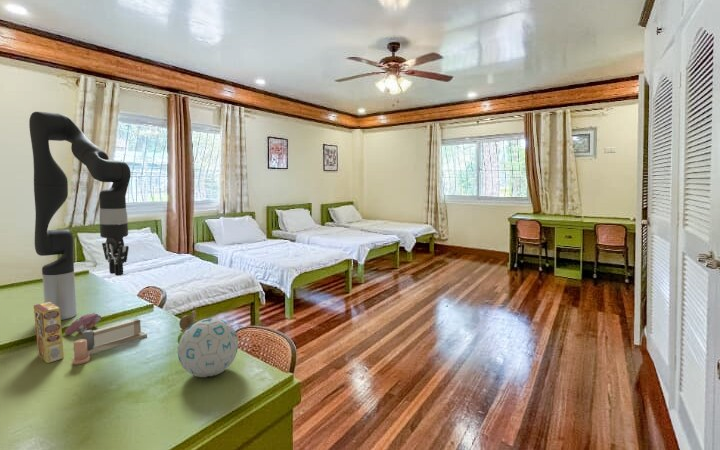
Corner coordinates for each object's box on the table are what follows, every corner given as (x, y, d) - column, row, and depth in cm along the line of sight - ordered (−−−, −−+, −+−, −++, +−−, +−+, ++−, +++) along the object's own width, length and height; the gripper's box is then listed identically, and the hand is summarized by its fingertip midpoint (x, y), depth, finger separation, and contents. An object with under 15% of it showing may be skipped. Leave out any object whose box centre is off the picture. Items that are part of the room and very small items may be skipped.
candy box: (64, 358, 107) (61, 307, 105) (46, 364, 103) (42, 311, 102) (54, 350, 112) (51, 301, 110) (36, 355, 108) (32, 304, 107)
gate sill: (78, 352, 110) (77, 349, 110) (141, 333, 125) (141, 331, 125) (83, 356, 108) (83, 353, 108) (147, 336, 123) (146, 333, 123)
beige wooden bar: (85, 350, 109) (83, 334, 108) (81, 348, 110) (80, 331, 110) (141, 333, 122) (140, 318, 122) (137, 331, 124) (136, 317, 123)
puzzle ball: (248, 364, 106) (248, 313, 104) (217, 392, 91) (215, 334, 90) (202, 357, 109) (201, 308, 107) (165, 383, 94) (162, 327, 93)
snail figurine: (203, 343, 118) (202, 307, 117) (187, 352, 112) (186, 314, 111) (189, 341, 120) (188, 305, 119) (173, 349, 114) (172, 311, 113)
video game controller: (72, 341, 122) (79, 323, 121) (62, 334, 123) (68, 316, 122) (99, 329, 132) (105, 313, 131) (89, 323, 132) (95, 307, 131)
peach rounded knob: (70, 362, 105) (69, 341, 104) (86, 356, 108) (85, 337, 107) (75, 366, 102) (74, 345, 102) (92, 360, 106) (91, 340, 105)
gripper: (91, 221, 120) (94, 273, 122) (110, 224, 112) (113, 279, 114) (116, 220, 126) (119, 269, 128) (136, 223, 119) (139, 275, 120)
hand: (116, 274), depth 121 cm, fingers open, 3 cm apart
